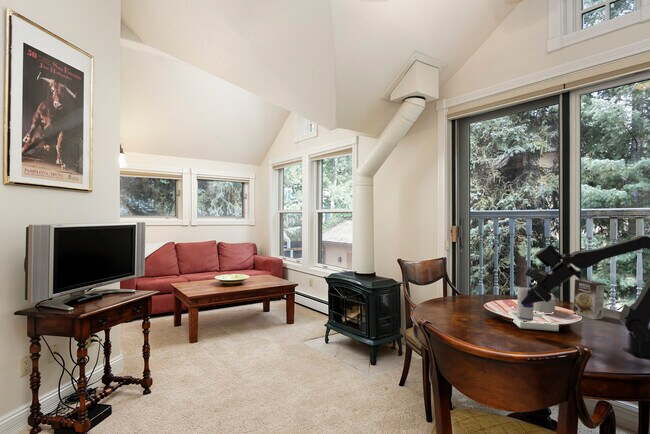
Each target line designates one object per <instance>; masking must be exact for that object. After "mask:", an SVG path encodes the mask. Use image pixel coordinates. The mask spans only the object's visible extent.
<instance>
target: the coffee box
mask: <svg viewBox="0 0 650 434" xmlns="http://www.w3.org/2000/svg"><path fill="white" fill-rule="evenodd" d="M604 296H605V283H604V282H600V281H595V280H591V279H584V278H581V279H578V278H577V279H574V293H573V309H572V310H573V312H575V313H577V314H579V315H578V316H580V315H581V317H584V318H587V319H591V320H599V319H603V313H604V300H605V299H604ZM573 312H572V313H573ZM577 314H576V315H577Z"/></svg>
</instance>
